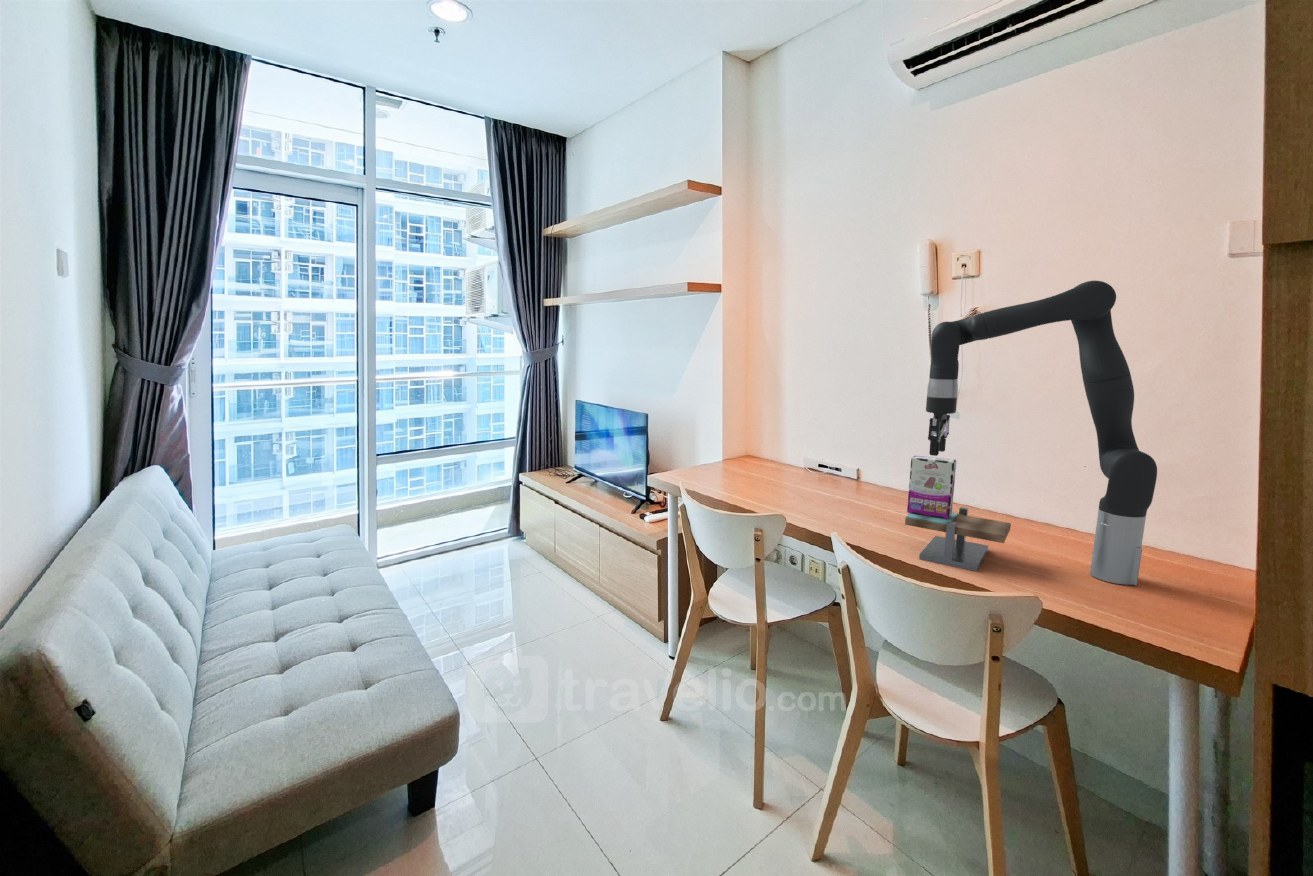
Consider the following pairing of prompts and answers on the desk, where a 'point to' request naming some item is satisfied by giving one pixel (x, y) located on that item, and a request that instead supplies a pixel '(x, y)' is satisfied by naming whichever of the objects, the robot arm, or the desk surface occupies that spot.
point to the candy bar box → (931, 486)
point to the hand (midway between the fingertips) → (937, 453)
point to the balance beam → (963, 526)
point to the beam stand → (954, 549)
